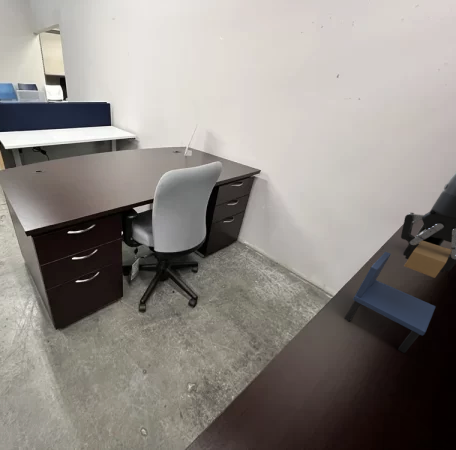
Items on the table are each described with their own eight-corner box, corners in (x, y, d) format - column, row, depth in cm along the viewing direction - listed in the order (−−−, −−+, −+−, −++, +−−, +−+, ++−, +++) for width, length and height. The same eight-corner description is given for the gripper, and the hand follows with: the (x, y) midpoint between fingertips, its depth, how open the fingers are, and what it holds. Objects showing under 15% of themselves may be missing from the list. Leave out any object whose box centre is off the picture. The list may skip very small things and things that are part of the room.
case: (441, 264, 56) (451, 249, 54) (434, 278, 51) (445, 262, 49) (412, 254, 59) (421, 240, 58) (403, 266, 55) (413, 251, 53)
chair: (418, 328, 62) (458, 277, 54) (406, 355, 55) (450, 301, 47) (358, 298, 71) (385, 250, 64) (342, 318, 64) (370, 267, 57)
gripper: (532, 202, 44) (472, 275, 52) (424, 181, 54) (388, 245, 62) (534, 210, 40) (469, 288, 48) (417, 186, 50) (379, 254, 58)
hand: (423, 263), depth 55 cm, fingers closed on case, 5 cm apart
